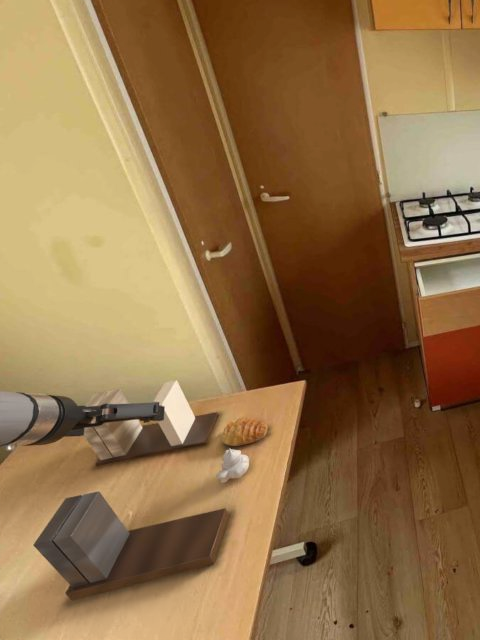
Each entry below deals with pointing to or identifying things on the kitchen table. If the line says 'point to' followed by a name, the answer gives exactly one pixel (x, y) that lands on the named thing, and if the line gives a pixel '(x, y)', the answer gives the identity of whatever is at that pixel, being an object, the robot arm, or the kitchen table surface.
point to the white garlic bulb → (233, 465)
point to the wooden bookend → (138, 434)
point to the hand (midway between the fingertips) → (123, 420)
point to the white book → (174, 413)
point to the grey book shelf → (124, 546)
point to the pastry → (243, 432)
